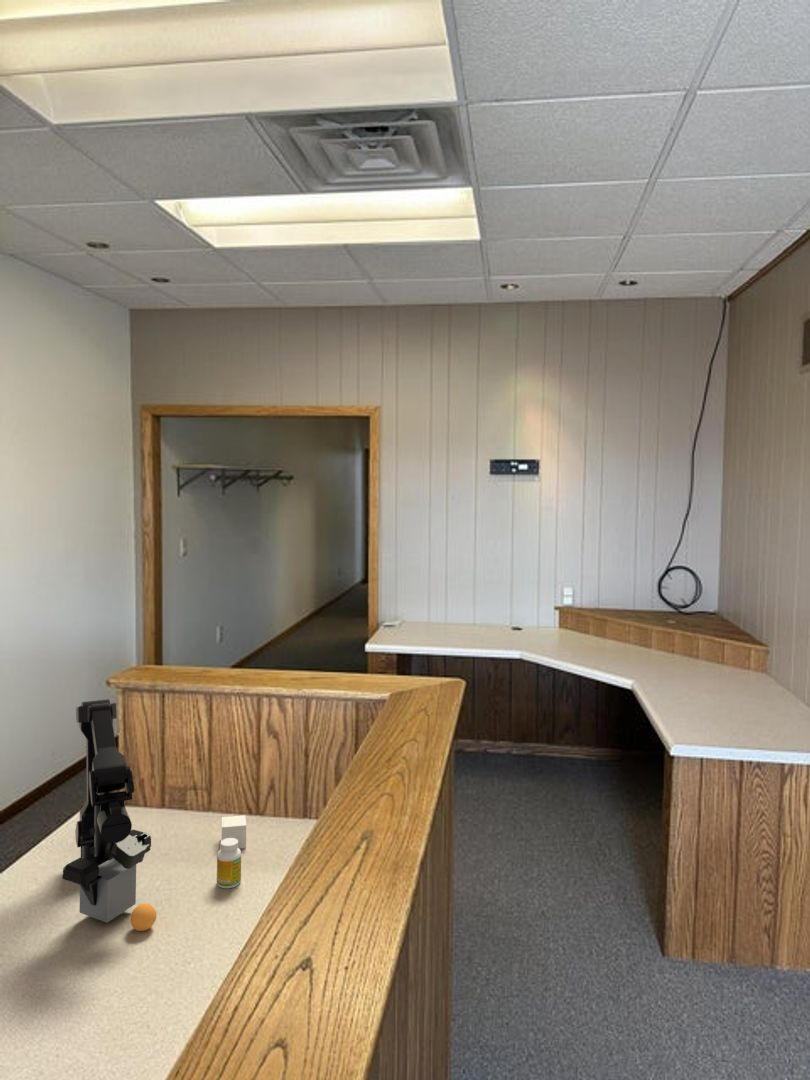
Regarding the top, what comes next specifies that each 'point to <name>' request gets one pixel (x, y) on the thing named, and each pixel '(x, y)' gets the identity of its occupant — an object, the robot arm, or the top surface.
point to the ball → (143, 917)
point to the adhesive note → (234, 829)
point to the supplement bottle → (229, 864)
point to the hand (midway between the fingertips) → (108, 895)
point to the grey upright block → (111, 892)
